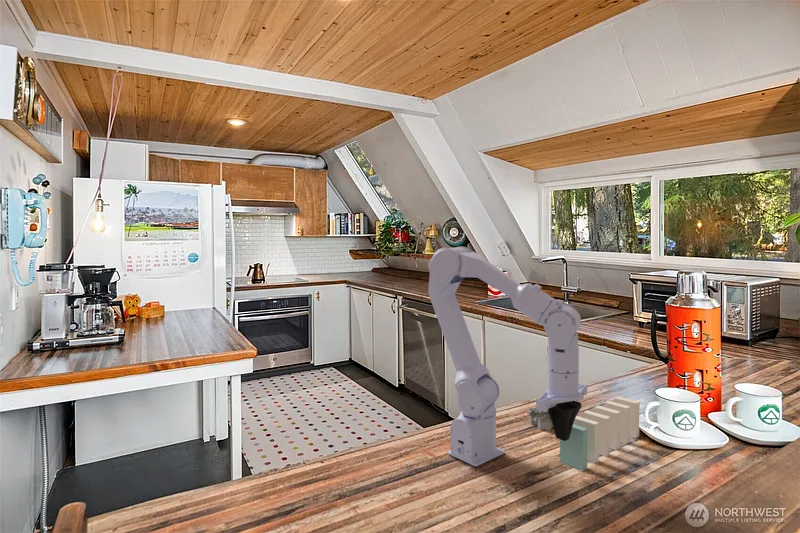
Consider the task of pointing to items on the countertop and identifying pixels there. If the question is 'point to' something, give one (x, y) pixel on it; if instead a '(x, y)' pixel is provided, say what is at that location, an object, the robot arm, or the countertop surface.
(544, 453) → the countertop surface
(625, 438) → the domino
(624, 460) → the countertop surface
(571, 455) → the domino
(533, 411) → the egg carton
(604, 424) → the domino
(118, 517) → the countertop surface
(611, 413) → the domino
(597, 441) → the domino
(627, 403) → the domino
